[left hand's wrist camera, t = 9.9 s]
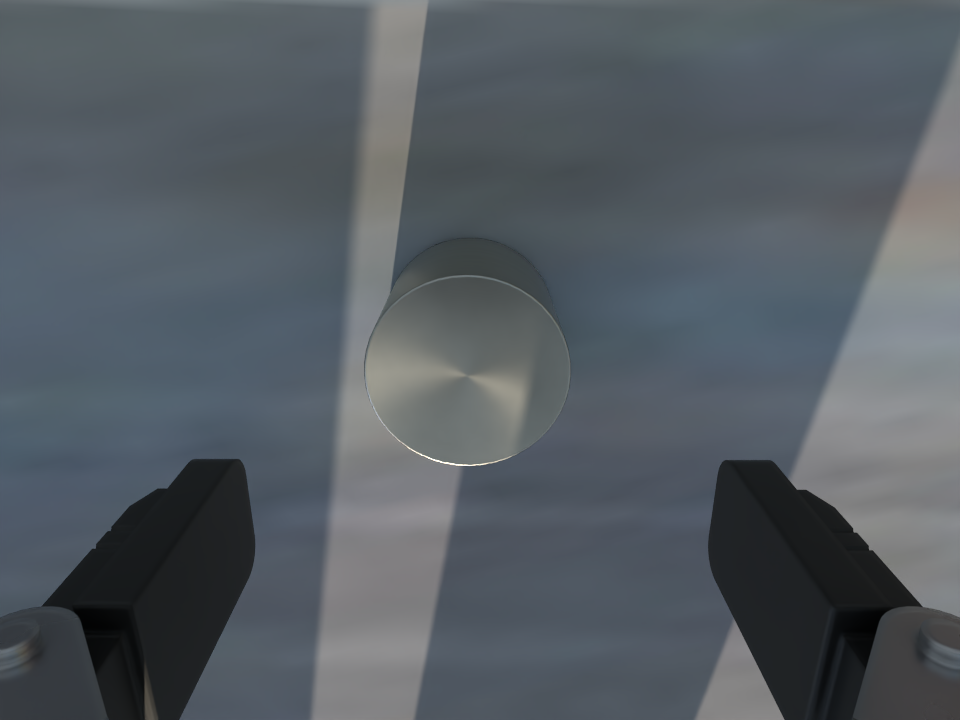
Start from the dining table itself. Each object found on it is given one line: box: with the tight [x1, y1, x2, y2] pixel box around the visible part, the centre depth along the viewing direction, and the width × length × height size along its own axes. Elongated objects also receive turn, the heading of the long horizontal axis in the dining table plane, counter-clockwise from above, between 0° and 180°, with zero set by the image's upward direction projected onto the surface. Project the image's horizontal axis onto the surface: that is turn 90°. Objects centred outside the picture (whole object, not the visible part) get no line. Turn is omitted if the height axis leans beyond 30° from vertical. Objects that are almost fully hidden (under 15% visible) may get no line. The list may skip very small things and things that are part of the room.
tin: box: [364, 238, 571, 466], centre depth 17 cm, size 5×5×4 cm
